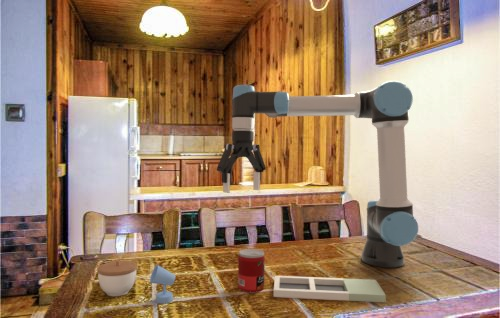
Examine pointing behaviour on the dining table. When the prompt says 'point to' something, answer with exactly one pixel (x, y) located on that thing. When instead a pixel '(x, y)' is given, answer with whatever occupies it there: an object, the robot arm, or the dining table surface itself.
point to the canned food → (251, 270)
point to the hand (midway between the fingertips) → (241, 191)
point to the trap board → (328, 288)
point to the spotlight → (163, 278)
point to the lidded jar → (117, 277)
